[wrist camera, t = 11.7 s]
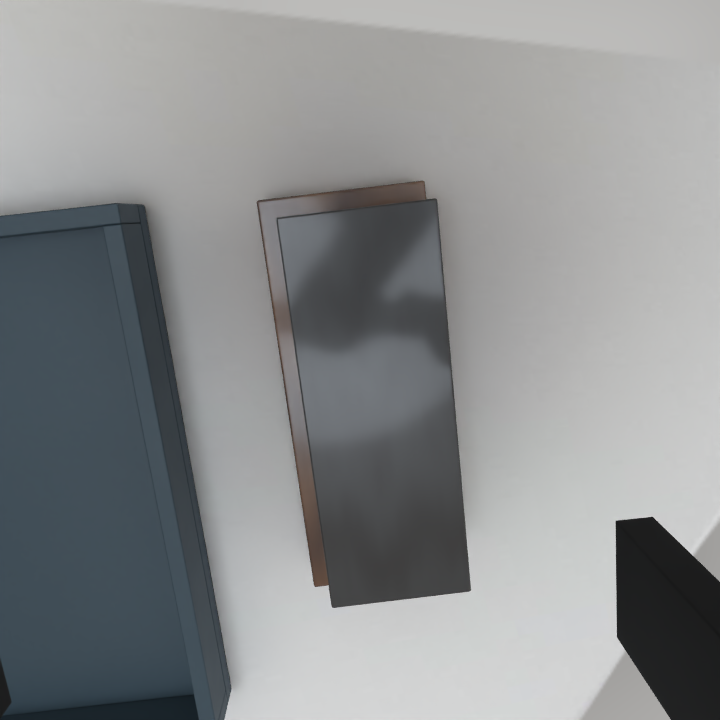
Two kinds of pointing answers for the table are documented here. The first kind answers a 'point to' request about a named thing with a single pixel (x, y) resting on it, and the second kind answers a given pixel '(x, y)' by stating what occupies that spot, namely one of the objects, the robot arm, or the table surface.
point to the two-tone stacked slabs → (369, 389)
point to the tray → (97, 483)
